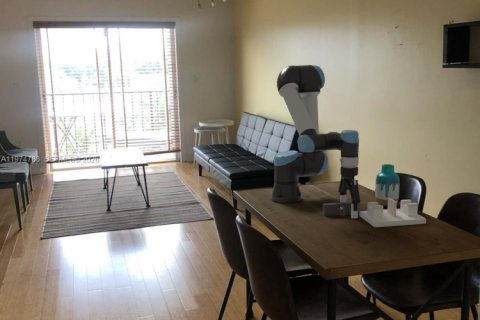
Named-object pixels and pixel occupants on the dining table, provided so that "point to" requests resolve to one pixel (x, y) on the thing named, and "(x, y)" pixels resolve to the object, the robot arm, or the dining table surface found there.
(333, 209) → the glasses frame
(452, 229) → the dining table surface
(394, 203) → the white pegged base plate
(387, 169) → the vase
